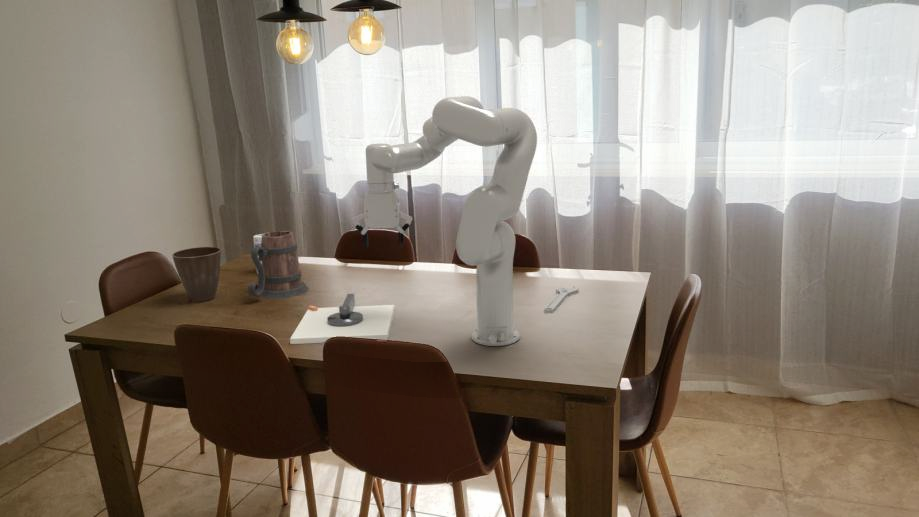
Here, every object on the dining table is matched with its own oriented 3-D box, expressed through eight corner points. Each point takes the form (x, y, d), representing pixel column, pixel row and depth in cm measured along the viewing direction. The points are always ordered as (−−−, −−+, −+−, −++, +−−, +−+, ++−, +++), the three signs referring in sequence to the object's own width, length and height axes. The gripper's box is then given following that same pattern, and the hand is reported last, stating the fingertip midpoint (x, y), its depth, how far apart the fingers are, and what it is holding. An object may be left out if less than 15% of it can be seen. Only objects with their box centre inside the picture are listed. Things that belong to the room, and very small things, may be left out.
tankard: (280, 282, 248) (274, 227, 243) (318, 286, 241) (313, 229, 236) (232, 301, 228) (225, 241, 223) (273, 307, 221) (266, 245, 216)
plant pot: (170, 300, 232) (163, 253, 228) (212, 289, 243) (206, 244, 239) (192, 308, 222) (185, 259, 218) (235, 297, 233) (229, 250, 229)
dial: (360, 325, 196) (359, 311, 195) (324, 327, 195) (323, 313, 194) (368, 304, 214) (367, 291, 213) (335, 305, 214) (334, 293, 213)
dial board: (387, 340, 188) (386, 331, 188) (290, 344, 188) (289, 335, 187) (395, 304, 218) (395, 297, 217) (311, 308, 218) (311, 300, 217)
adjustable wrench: (551, 315, 204) (551, 310, 204) (531, 313, 207) (531, 307, 207) (580, 291, 225) (580, 286, 225) (561, 289, 228) (561, 284, 228)
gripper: (411, 185, 203) (413, 242, 207) (351, 186, 202) (354, 244, 207) (411, 189, 196) (413, 248, 200) (348, 191, 195) (352, 250, 199)
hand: (383, 246), depth 203 cm, fingers open, 9 cm apart
